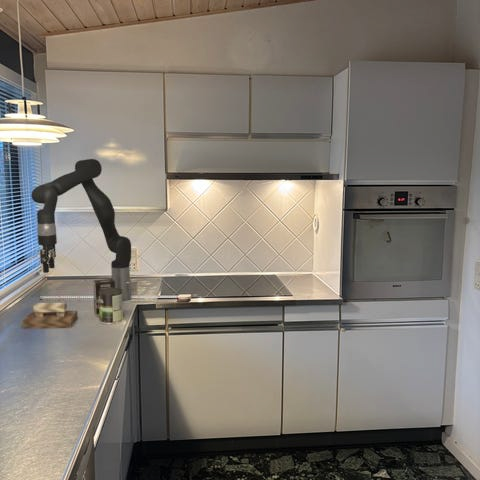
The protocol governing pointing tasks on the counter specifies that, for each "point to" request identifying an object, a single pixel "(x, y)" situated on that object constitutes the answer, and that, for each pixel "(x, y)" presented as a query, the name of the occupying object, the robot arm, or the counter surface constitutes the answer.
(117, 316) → the coffee can
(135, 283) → the counter surface
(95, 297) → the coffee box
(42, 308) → the beige wooden plank
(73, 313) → the brown slotted wooden block
